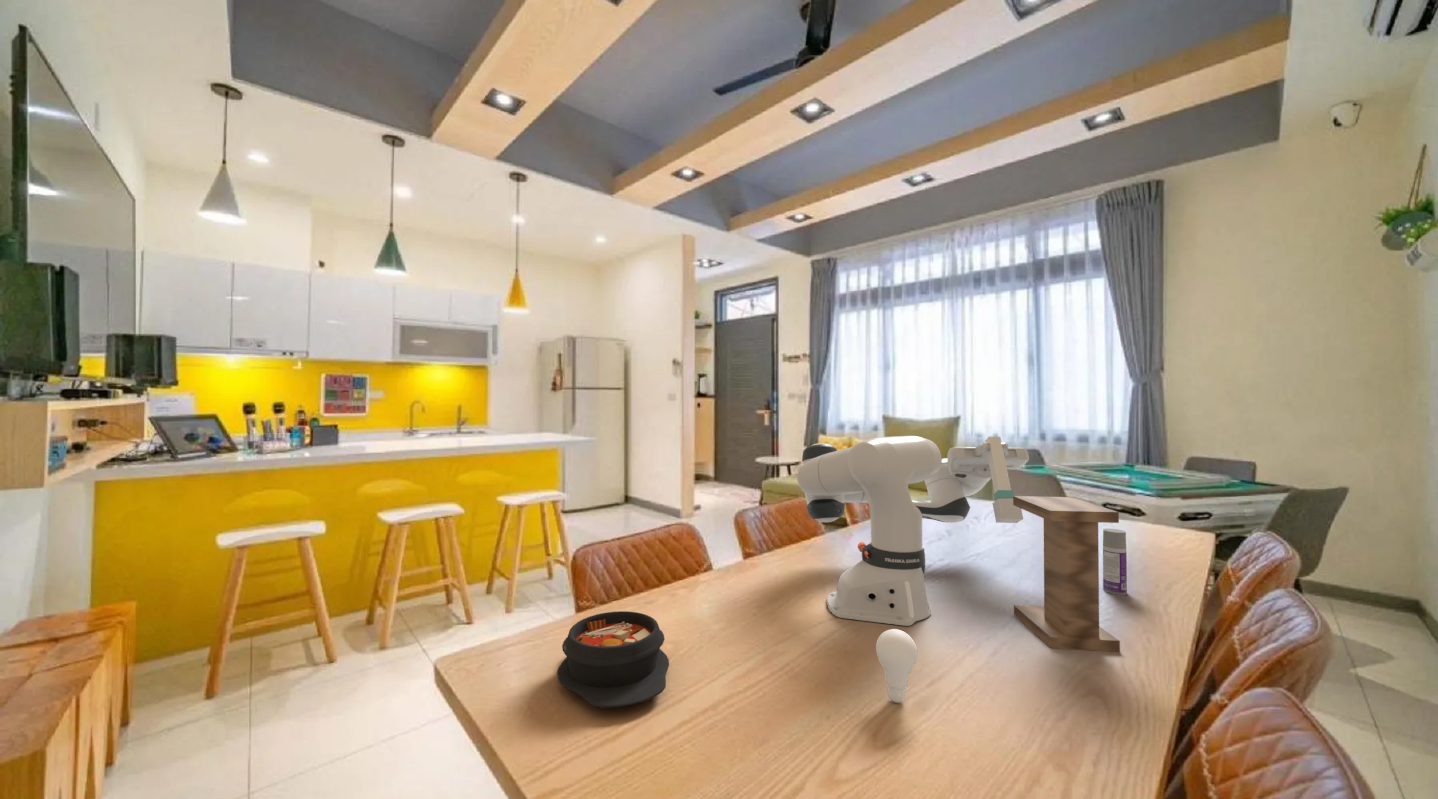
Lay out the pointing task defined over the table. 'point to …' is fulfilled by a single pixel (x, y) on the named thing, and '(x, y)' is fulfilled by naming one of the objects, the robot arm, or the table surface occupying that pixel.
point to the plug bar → (1001, 485)
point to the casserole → (614, 659)
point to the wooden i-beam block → (1069, 574)
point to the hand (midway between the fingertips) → (996, 445)
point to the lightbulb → (896, 660)
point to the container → (1114, 561)
